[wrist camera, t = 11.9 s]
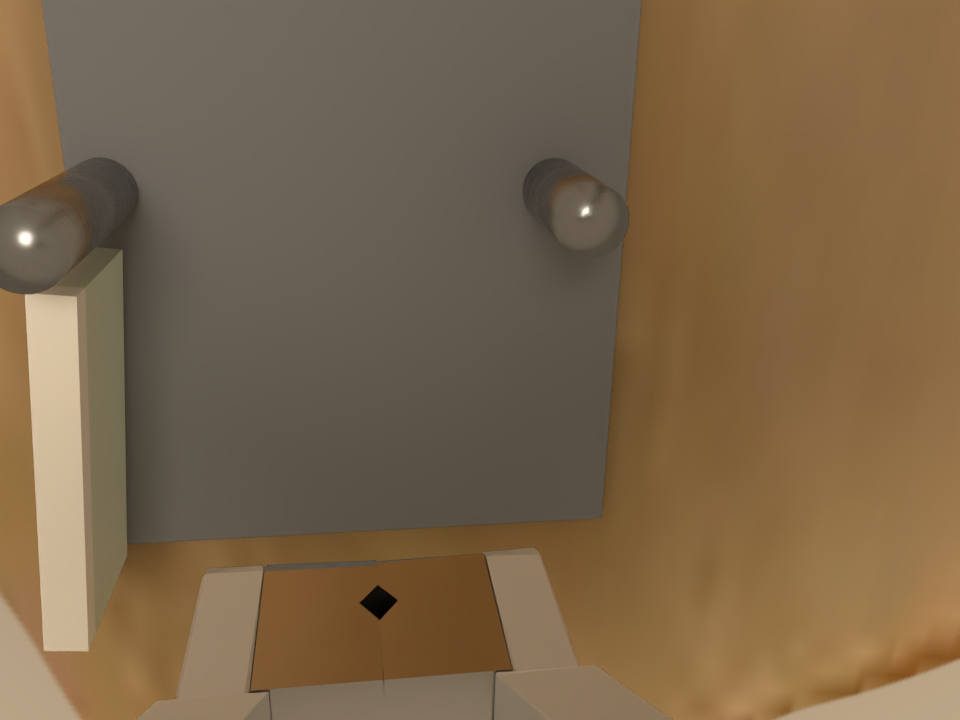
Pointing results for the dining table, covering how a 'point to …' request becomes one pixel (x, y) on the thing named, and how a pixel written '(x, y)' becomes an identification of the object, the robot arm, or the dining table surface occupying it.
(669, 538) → the dining table surface
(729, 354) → the dining table surface
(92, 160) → the posts
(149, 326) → the yard mat
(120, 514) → the cream plank
